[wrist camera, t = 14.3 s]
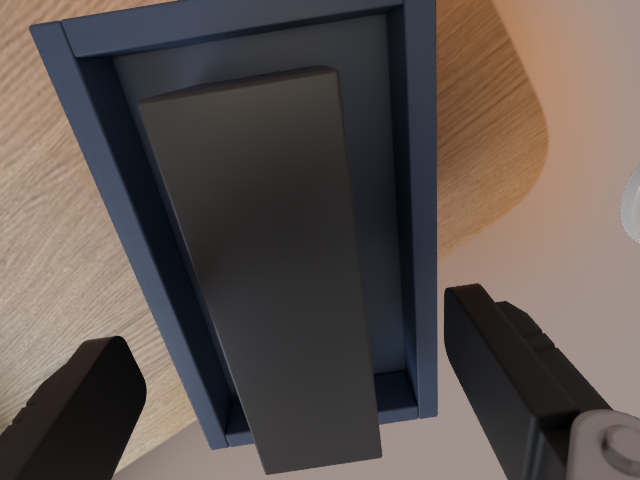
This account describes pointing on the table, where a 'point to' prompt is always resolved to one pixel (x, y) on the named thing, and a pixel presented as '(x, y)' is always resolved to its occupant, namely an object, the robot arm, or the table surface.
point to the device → (276, 255)
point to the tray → (363, 149)
